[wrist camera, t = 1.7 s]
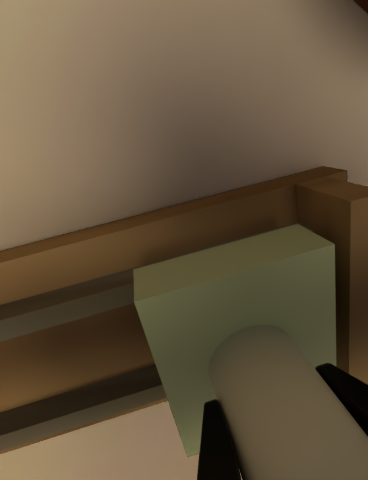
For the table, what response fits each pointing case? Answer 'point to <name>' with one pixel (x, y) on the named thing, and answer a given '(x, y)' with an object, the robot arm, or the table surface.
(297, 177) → the slide rail
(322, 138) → the table surface
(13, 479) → the table surface
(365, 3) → the food container
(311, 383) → the carriage
